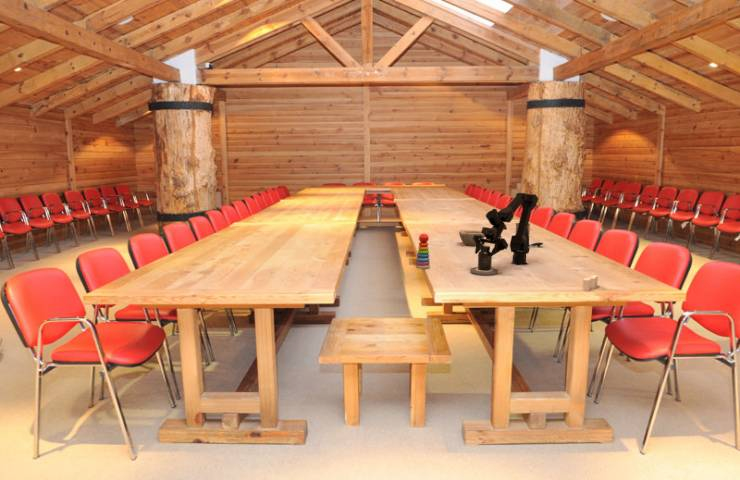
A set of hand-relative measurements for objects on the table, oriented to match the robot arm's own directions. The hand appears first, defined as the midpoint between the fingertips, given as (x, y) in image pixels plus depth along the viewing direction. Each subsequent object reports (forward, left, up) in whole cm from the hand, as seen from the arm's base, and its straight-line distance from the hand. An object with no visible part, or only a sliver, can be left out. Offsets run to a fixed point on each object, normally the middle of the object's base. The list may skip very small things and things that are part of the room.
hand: (482, 254), depth 278 cm
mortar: (-31, -78, -10) cm, 84 cm away
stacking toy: (+25, -21, -10) cm, 34 cm away
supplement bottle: (-1, -1, -8) cm, 8 cm away
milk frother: (-64, -62, -10) cm, 89 cm away
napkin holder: (-32, +41, -10) cm, 53 cm away
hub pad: (-1, -1, -10) cm, 10 cm away
